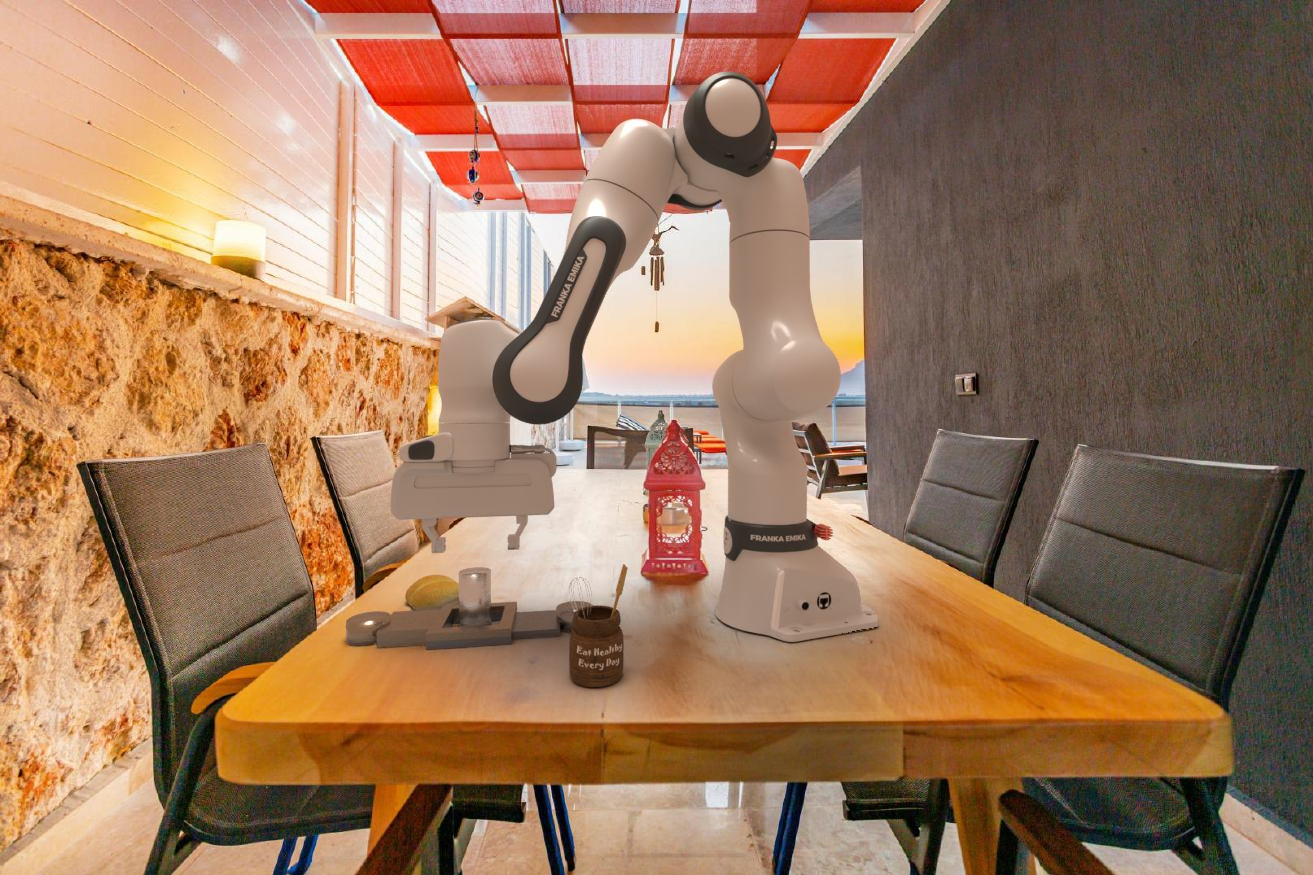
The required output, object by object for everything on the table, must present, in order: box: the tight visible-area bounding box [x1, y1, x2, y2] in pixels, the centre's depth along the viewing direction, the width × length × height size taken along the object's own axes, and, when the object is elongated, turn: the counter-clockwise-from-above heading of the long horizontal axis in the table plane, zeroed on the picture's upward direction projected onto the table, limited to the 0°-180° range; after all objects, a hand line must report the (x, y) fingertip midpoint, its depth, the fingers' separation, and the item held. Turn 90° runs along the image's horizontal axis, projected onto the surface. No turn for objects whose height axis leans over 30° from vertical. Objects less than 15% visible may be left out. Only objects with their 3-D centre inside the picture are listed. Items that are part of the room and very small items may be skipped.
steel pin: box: [458, 566, 492, 627], centre depth 71 cm, size 4×4×8 cm
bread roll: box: [404, 574, 459, 611], centre depth 83 cm, size 8×9×4 cm
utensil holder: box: [568, 563, 628, 688], centre depth 59 cm, size 6×6×12 cm
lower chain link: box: [425, 600, 594, 651], centre depth 72 cm, size 20×10×2 cm, turn 100°
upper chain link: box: [345, 601, 518, 649], centre depth 70 cm, size 20×10×2 cm, turn 100°
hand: (476, 550), depth 71 cm, fingers open, 8 cm apart
